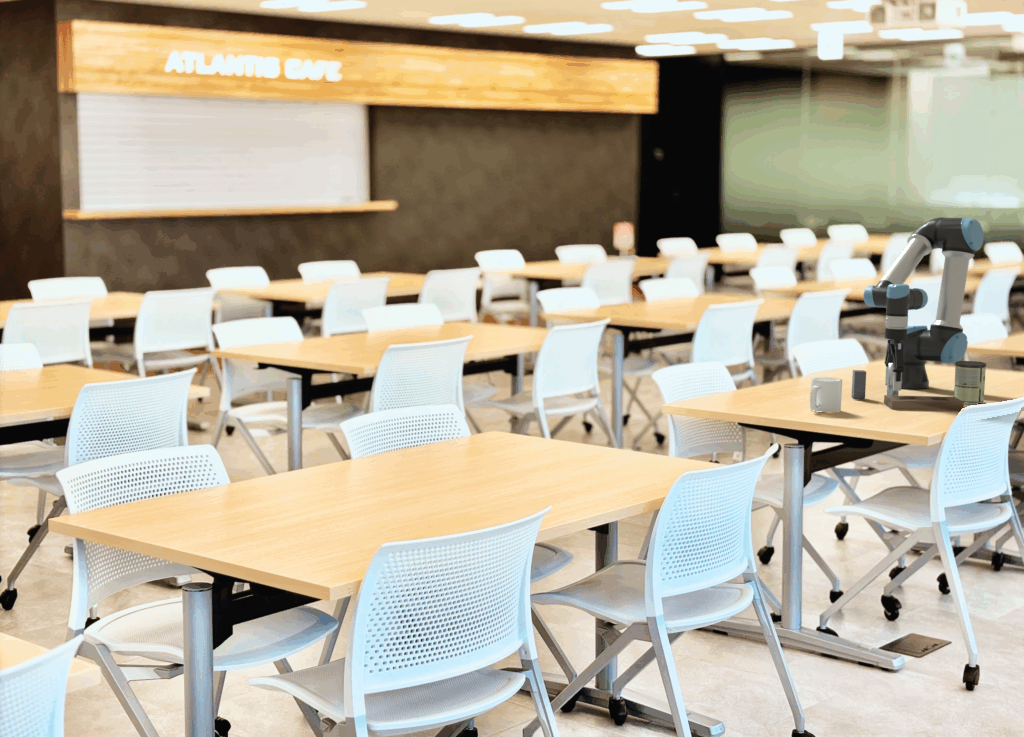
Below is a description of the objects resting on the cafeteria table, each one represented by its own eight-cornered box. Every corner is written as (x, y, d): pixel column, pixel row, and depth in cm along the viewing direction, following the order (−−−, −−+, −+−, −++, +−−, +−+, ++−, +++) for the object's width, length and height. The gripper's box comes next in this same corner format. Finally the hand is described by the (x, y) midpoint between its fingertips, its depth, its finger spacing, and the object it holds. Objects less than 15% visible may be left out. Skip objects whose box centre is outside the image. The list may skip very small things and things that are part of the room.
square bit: (851, 397, 474) (852, 370, 472) (862, 398, 473) (864, 370, 472) (853, 399, 470) (854, 371, 468) (864, 399, 469) (866, 371, 468)
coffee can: (950, 399, 472) (952, 360, 471) (979, 400, 472) (982, 361, 470) (956, 404, 462) (959, 364, 460) (987, 405, 461) (989, 365, 459)
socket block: (883, 403, 461) (884, 395, 461) (954, 405, 459) (954, 396, 459) (891, 409, 449) (891, 400, 449) (963, 411, 448) (963, 402, 447)
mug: (827, 415, 435) (828, 383, 434) (799, 411, 442) (800, 380, 440) (846, 410, 445) (847, 379, 444) (818, 407, 452) (820, 376, 450)
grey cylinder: (885, 398, 473) (887, 362, 471) (896, 398, 472) (898, 362, 471) (887, 400, 469) (889, 363, 467) (899, 400, 469) (901, 364, 467)
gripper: (878, 324, 480) (875, 382, 482) (892, 331, 455) (889, 392, 458) (899, 324, 479) (896, 383, 482) (915, 331, 455) (911, 393, 458)
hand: (892, 387), depth 470 cm, fingers open, 12 cm apart
